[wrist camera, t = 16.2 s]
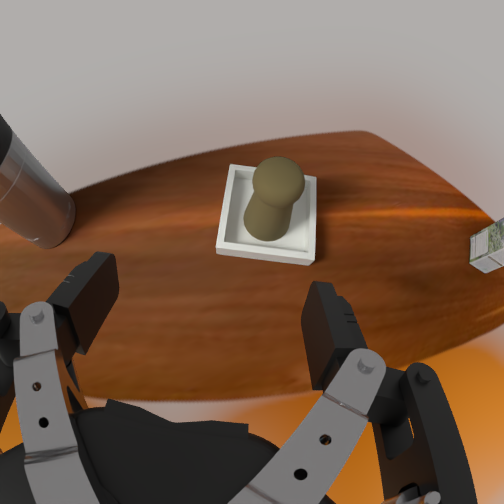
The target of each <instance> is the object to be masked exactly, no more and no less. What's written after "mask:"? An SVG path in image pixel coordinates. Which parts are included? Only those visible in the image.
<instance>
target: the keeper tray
mask: <svg viewBox="0 0 504 504" xmlns="http://www.w3.org/2000/svg"><path fill="white" fill-rule="evenodd" d="M256 168H257V167H250V166H242V165H234V164H230V167H229V173H228V178H227V184H226V189H225V195H224V201H223V207H222V213H221V219H220V225H219V231H218V237H217V243H216V252H217V254H221V255H229V256H237V257H244V258H252V259H260V260H268V261H276V262H284V263H292V264H300V265H308V266H309V265H310V264H311V263H312V262H313V261H314V260H315V238H316V177H313V176H307V175H304V177H305V188H304V191H303V193H302V195H301V197H300V199H299V200H297V201H296V202H295V203H294V204H293V209H292V215H291V220H290V225H289V229H288V231H287V232H286V234H285V235H284V236H283V237H281V238H280V239H278V240H275V241H269V242H265V241H261V240H258V239H256V238H254V237H252V236H251V235H250V234H249V232H248V231H247V230H246V228H245V226H244V220H243V216H244V212H245V210H246V207H247V205H248V203H249V201H250V199H251V196H252V194H253V192H254V189H253V184H252V178H253V174H254V171H255V169H256Z"/></svg>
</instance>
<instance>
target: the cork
mask: <svg viewBox="0 0 504 504" xmlns="http://www.w3.org/2000/svg"><path fill="white" fill-rule="evenodd" d="M252 184H253V189H254V192H253V194H252V196H251V199H250V201H249V203H248V205H247V207H246V210H245V212H244V216H243V220H244V226H245V228H246V230H247V231H248V232H249V234H250V235H251V236H252V237H254V238H256V239H258V240H261V241H265V242H269V241H275V240H278V239H280V238H281V237H283V236H284V235H285V234H286V232H287V231H288V229H289V225H290V220H291V215H292V209H293V204H294V203H295V202H296V201H297V200H299V199H300V197H301V195H302V193H303V191H304V188H305V177H304V173H303V172H302V170H301V168H300V167H299V166H298V165H297V164H296V163H295V162H294V161H292V160H290V159H288V158H285V157H272V158H268V159H265V160H264V161H263V162H261V163H260V164H259V165H258V167H257V168H256V169H255V171H254V174H253V178H252Z"/></svg>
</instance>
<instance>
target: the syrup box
mask: <svg viewBox="0 0 504 504" xmlns="http://www.w3.org/2000/svg"><path fill="white" fill-rule="evenodd" d="M469 263H470V264H471V265H473V266H474V267H476V268H477V269H479V270H480V271H482V272H484V273H488V272H490V271H493V270H495V269H497V268H500V267H502V266H504V218H502V219H501V220H499V221H497V222H495V223H494V224H492V225H490V226H489V227H487V228H485V229H483V230H481V231H480V232H478V233H476V234H474V235H472V236H471V237H470V262H469Z"/></svg>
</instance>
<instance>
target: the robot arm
mask: <svg viewBox="0 0 504 504" xmlns="http://www.w3.org/2000/svg"><path fill="white" fill-rule="evenodd" d="M75 213H76V208H75V203H74V201H73V199H72V198H71V196H70V195H69V194H68V193H67V192H66V191H65V190H64V189H63V188H62V187H61V186H60V185H59V183H58V182H56V180H55V179H54V178H53V177H52V176H51V175H50V174H49V173H48V172H47V170H46V169H45V168H44V167H43V166H42V165H41V164H40V163H39V161H38V160H37V159H36V158H35V157H34V156H33V155H32V153H31V152H30V151H29V150H28V149H27V147H26V146H25V145H24V144H23V143H22V142H21V140H20V139H19V138H18V137H17V135H16V134H15V133H14V132H13V131H12V129H11V128H10V126H9V125H8V124H7V122H6V121H5V120H4V119H3V117H2V116H1V114H0V223H2V224H3V225H5V226H6V227H8V228H10V229H11V230H13V231H14V232H16V233H17V234H19V235H21V236H22V237H24V238H25V239H27V240H29V241H30V242H32V243H34V244H35V245H37V246H39V247H41V248H44V249H48V248H52V247H55V246H57V245H58V244H60V243H61V242H62V241H63V240H64V239H65V238H66V236H67V235H68V234H69V232H70V230H71V228H72V226H73V223H74V220H75ZM118 294H119V281H118V274H117V267H116V259H115V256H114V254H111V253H104V252H95V253H94V254H93V256H92V257H91V258H90V259H89V260H88V261H87V262H86V261H85V262H83V263H81V264H80V265H78V266H76V267H75V268H74V269H73V270H72V271H71V272H70V274H69V276H67V277H66V278H65V279H64V282H62V283H61V284H60V285H59V286H58V287H57V289H56V290H55V291H54V292H53V293H52V295H51V296H50V297H49V298H48V299H47V301H46V302H35V303H32V304H30V305H29V306H27V307H26V308H25V309H24V310H23V311H22V313H8V311H7V308H6V306H5V304H4V303H3V302H1V301H0V432H1V430H2V427H3V424H4V422H5V419H6V417H7V414H8V412H9V410H10V407H11V405H12V403H13V400H14V398H15V396H16V402H17V409H18V416H19V422H20V428H21V433H22V438H23V443H21V444H19V445H17V446H15V447H14V448H12V449H10V450H8V451H6V452H4V453H3V452H2V450H1V449H0V504H336V503H335V502H334V501H332V500H331V499H330V498H329V497H328V496H327V495H326V492H327V491H328V489H329V488H330V486H331V485H332V483H333V482H334V480H335V479H336V477H337V476H338V474H339V472H340V471H341V469H342V468H343V466H344V464H345V463H346V461H347V459H348V458H349V456H350V454H351V452H352V451H353V449H354V447H355V445H356V443H357V441H358V439H359V438H360V436H361V434H362V432H363V430H364V428H365V426H366V424H367V422H372V427H373V432H374V437H375V442H376V448H377V454H378V460H379V466H380V472H381V479H382V486H383V494H384V501H383V502H382V503H381V504H478V503H477V498H476V493H475V488H474V484H473V479H472V475H471V471H470V467H469V464H468V460H467V456H466V453H465V450H464V446H463V443H462V440H461V437H460V434H459V431H458V428H457V425H456V422H455V419H454V417H453V414H452V411H451V409H450V406H449V403H448V401H447V398H446V395H445V393H444V391H443V388H442V386H441V383H440V381H439V378H438V376H437V374H436V373H435V371H434V370H433V369H432V368H431V367H429V366H428V365H426V364H424V363H418V362H417V363H413V364H411V365H410V366H409V367H408V368H407V370H406V371H401V370H397V369H393V368H389V367H386V365H385V362H384V361H383V359H382V358H381V357H380V356H379V355H378V354H377V353H375V352H373V351H371V350H368V347H367V345H366V342H365V340H364V337H363V335H362V332H361V330H360V327H359V325H358V323H357V320H356V317H355V316H354V312H353V310H352V308H351V305H350V304H349V303H348V302H347V301H346V300H345V299H344V298H343V297H342V296H337V294H336V292H335V289H334V287H333V284H332V283H327V282H318V281H313V282H312V284H311V286H310V289H309V292H308V296H307V299H306V302H305V305H304V308H303V311H302V316H301V327H302V332H303V337H304V343H305V349H306V354H307V360H308V366H309V371H310V377H311V383H312V389H313V390H323V394H322V396H321V397H320V398H319V400H318V401H317V403H316V404H315V405H314V407H313V408H312V410H311V411H310V412H309V413H308V415H307V416H306V418H305V419H304V420H303V421H302V423H301V424H300V425H299V426H298V428H297V429H296V430H295V432H294V433H293V434H292V435H291V437H290V438H289V439H288V440H287V441H286V443H285V444H284V445H283V446H282V447H281V449H280V448H278V447H277V446H276V445H274V444H273V443H271V442H269V441H268V440H266V439H264V438H262V437H259V436H257V435H254V434H251V433H248V424H244V423H232V422H221V421H212V420H211V421H199V422H182V423H174V422H170V421H168V420H166V419H164V418H161V417H159V416H157V415H155V414H152V413H151V412H149V411H146V410H144V409H142V408H140V407H137V406H133V405H129V404H126V403H122V402H118V401H115V400H111V399H108V400H107V403H106V406H105V407H94V408H88V406H87V404H86V401H85V399H84V396H83V393H82V389H81V386H80V382H79V379H78V375H77V371H76V367H75V363H74V360H73V358H72V357H73V355H74V353H75V352H77V353H80V354H83V355H86V353H87V351H88V349H89V347H90V346H91V344H92V342H93V340H94V338H95V336H96V335H97V333H98V331H99V329H100V327H101V326H102V324H103V322H104V320H105V319H106V317H107V315H108V313H109V312H110V310H111V308H112V306H113V305H114V303H115V301H116V300H117V297H118ZM408 418H410V421H411V425H412V429H413V433H414V438H413V434H412V431H411V427H410V423H409V420H408Z"/></svg>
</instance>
